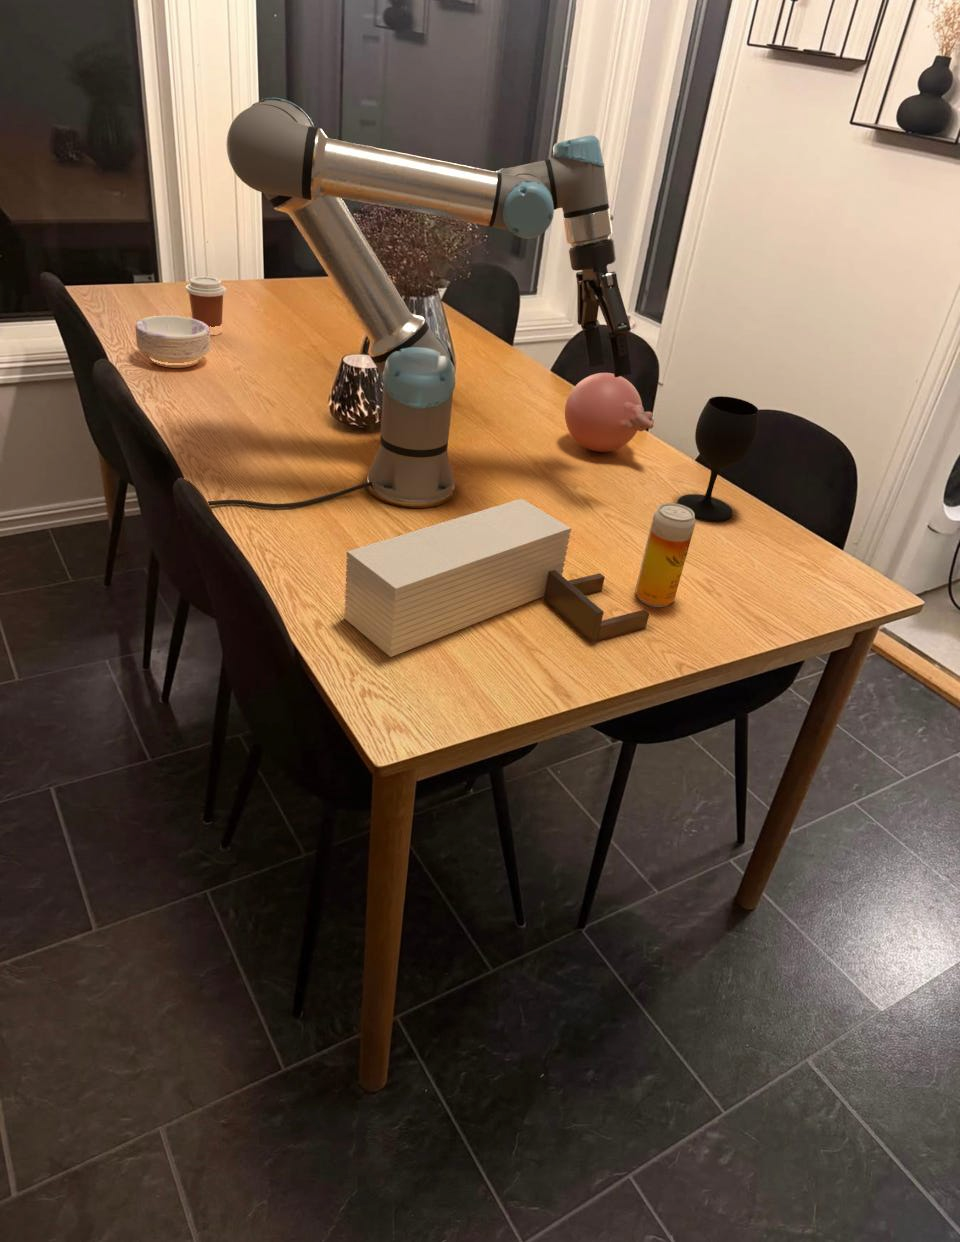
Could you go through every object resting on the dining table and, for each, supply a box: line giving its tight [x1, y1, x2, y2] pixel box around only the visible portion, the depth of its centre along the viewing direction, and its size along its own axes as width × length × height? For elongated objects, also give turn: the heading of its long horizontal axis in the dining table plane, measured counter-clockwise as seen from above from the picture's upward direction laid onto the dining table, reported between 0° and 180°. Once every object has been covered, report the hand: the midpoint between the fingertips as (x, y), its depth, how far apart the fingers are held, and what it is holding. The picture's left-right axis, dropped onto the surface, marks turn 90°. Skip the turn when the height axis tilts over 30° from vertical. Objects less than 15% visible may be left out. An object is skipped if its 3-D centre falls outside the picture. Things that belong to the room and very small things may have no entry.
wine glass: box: [676, 395, 760, 523], centre depth 165 cm, size 10×10×20 cm
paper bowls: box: [135, 315, 211, 369], centre depth 200 cm, size 15×15×8 cm
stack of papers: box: [343, 498, 572, 658], centre depth 131 cm, size 32×11×11 cm, turn 131°
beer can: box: [635, 502, 697, 608], centre depth 137 cm, size 6×6×15 cm
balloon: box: [564, 372, 655, 453], centre depth 183 cm, size 15×20×15 cm
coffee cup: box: [185, 275, 227, 327], centre depth 217 cm, size 9×9×12 cm
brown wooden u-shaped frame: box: [543, 570, 650, 643], centre depth 135 cm, size 10×12×5 cm
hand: (609, 370), depth 161 cm, fingers open, 13 cm apart
